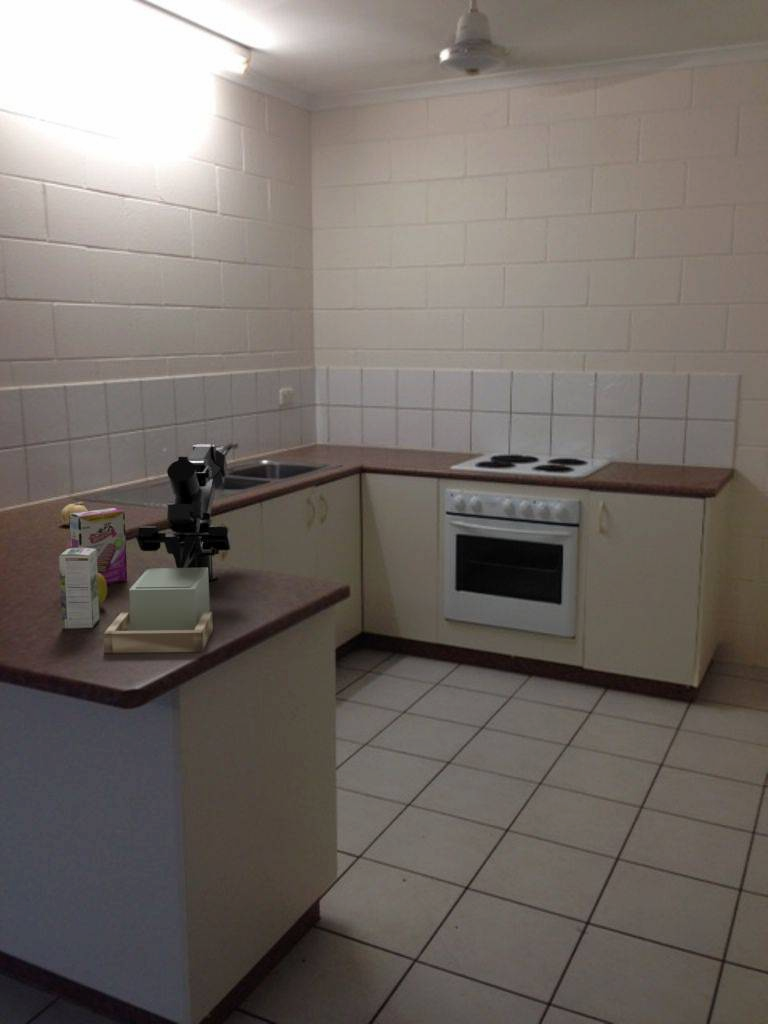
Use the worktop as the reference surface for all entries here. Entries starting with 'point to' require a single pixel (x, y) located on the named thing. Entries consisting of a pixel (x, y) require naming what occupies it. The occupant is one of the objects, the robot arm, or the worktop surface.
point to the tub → (169, 599)
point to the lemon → (102, 588)
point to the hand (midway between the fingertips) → (180, 573)
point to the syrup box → (79, 588)
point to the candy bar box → (102, 540)
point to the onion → (71, 511)
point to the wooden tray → (156, 637)
